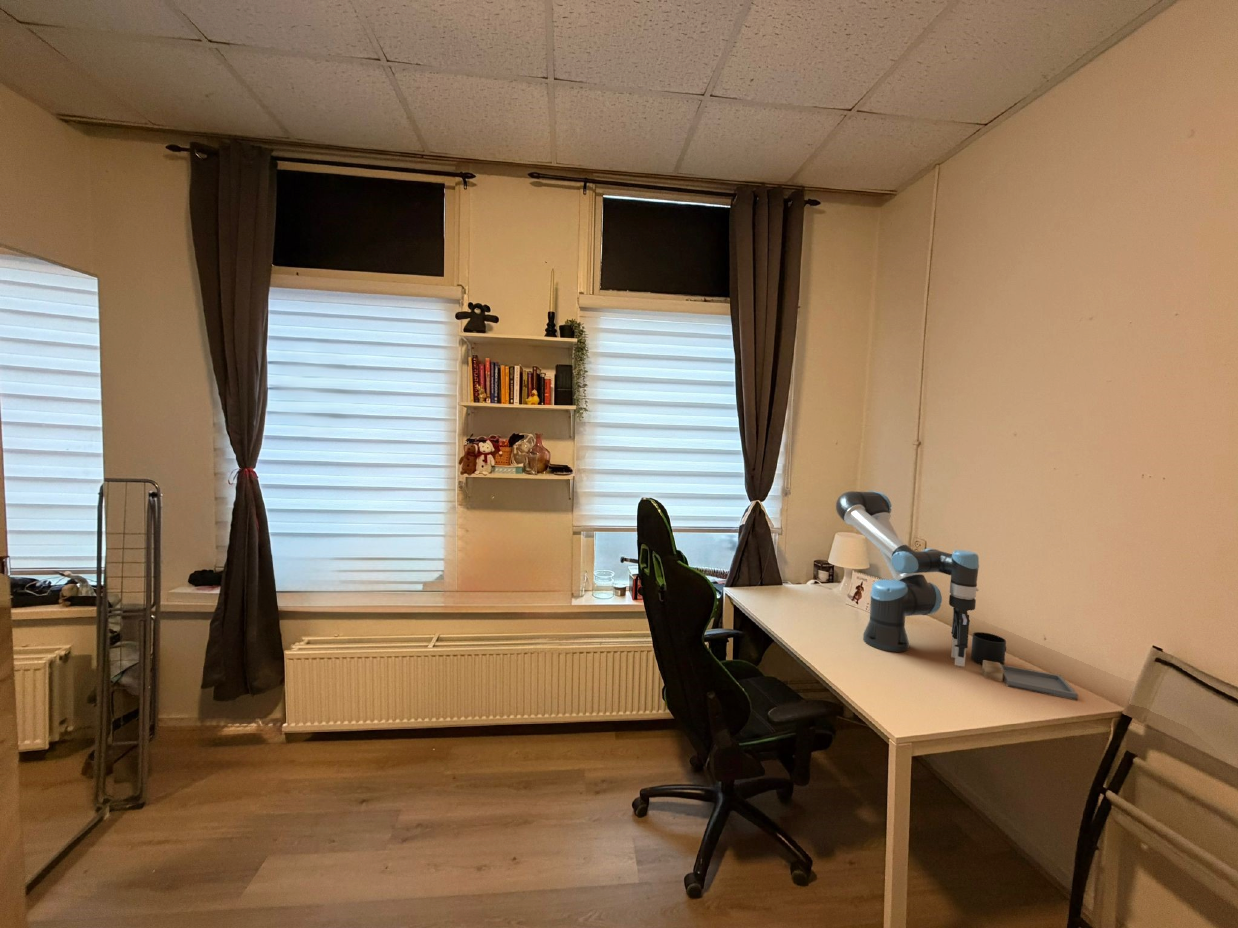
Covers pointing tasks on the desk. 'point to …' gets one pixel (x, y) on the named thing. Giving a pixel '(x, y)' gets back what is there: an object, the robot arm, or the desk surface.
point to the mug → (988, 648)
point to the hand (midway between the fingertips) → (957, 661)
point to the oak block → (992, 670)
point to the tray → (1037, 682)
